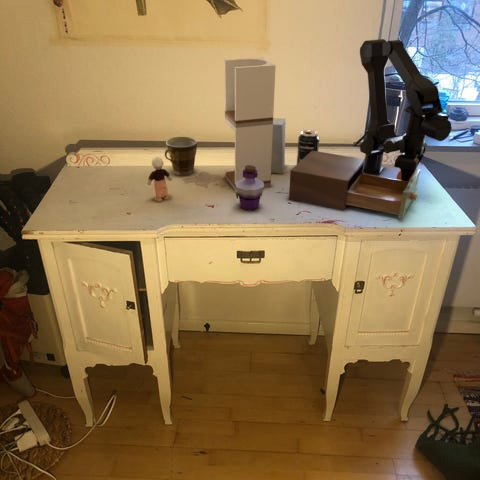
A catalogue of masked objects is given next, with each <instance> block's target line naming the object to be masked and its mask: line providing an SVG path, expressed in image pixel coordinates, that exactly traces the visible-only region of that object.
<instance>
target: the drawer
mask: <svg viewBox="0 0 480 480" xmlns="http://www.w3.org/2000/svg"><path fill="white" fill-rule="evenodd" d="M420 173H421V169H419V168H416V170H415V172H414V174H413V176H412V178H411V179H410V181H409V182H408V181H402V180H397V178H390V177H385V176H379V175H375V174H367V173H363V174H362V173H361V174H360V175H359V177H358V178H357V179H356V181H355V182H354V183H353V184H352V186H351V187H350V188H349V190H348V191H347V195H346V202H345V204H346V205H347V206H352V207H357V208H362V209H366V210H373V211H377V212H383V213H386V214H392V215H396V216H397V215H398V217H397V218H398V219H403V218H404V216H405V214H406V212H407V211H408V209H409V207H410V205H411V203H412V201H417V199H418V195H419V193H418V192H417V187H418V183H419V180H420V179H419V178H420Z"/></svg>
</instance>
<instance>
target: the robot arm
mask: <svg viewBox="0 0 480 480" xmlns="http://www.w3.org/2000/svg"><path fill="white" fill-rule="evenodd" d="M359 57H360V62H361V66H362V68H363V69H364V70H365V72H366V73H367V83H368V96H369V109H370V124H369V126H368V129H367V130H366V138H365V140H364V141H362V142H361V143H360V144H359V151H360V152H361V153H363V154H364V159H365V162H364V169H363V173H369V174H373V175H380V174H381V173H382V171H383V170H384V165H383V157H384V153H385V154H390V153H394V152H398V151H399V153H400V154H399V155H398V156H397V157H396V158H395V160H394V165H393V167H394V168H397V169H399V171H400V170H401V179H402V181H409V179H410V178H411V176H412V175H413V173H414V172H415V171H416V169H418V167H419V164H420V163H421V161H422V160H423V158H424V157H425V154H426V153H427V149H428V143H426V141H425V140H426V138H427V137H428V138H430V139H433V140H435V141H438V142H443V141H445V140H447V138H448V137H449V136H450V134H451V132H452V129H453V128H452V122H451V121H450V120H449V118H450V115H448V114H446V113H445V114H444V113H443V106H442V102H441V99H440V94H439V92H440V91H439V88H438V86H437V85H436V84H435V83H434V82H433V81H432V80H431V79H429V78H428V77H426V76H424V75H423V74H422V73H421V72H420V70H419V68H418V67H417V65H416V64H415V62H414V60H413V59H412V57H411V56H410V55H409V52H408V51H407V50H406V48H405V44H404V42H403V40H400V39H394V40H393V39H391V40H386V39H384V38H379V39H370V40H369V39H368V40H367V39H366V40H364V41H363V43H362V45H361V46H360V47H359ZM389 61H390V63H391V65H392V67H393V68H394V70H395V71H396V73H397V75H398V76H399V78H400V79H401V81H402V83H403V84H404V86H405V96H406V98H407V101H408V103H409V106H407V107H406V108H405V109H404V112H406V113H408V118H407V119H408V120H407V124H406V130H405V133H404V134H403V135H402V136H401V135H400V136H397V134H396V124H395V123H391V122H390V120H389V119H388V107H387V106H388V105H387V93H386V92H387V91H386V77H385V76H386V75H385V69H386V66H387V64H388V62H389ZM382 165H383V166H382Z"/></svg>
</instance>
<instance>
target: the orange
mask: <svg viewBox="0 0 480 480" xmlns="http://www.w3.org/2000/svg"><path fill="white" fill-rule="evenodd" d="M413 174H414V173H413ZM412 176H413V175H412ZM412 176H411V178H412ZM411 178H410V179H411ZM396 179H397V180H402V179H401V170H400V169H399V171H398V172H397V175H396ZM410 179H409V181H410ZM409 181H408V182H409Z"/></svg>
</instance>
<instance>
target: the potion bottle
mask: <svg viewBox="0 0 480 480" xmlns="http://www.w3.org/2000/svg"><path fill="white" fill-rule="evenodd" d="M243 177H244V178H245V179H242V180H239V181H237V182H236V191H235V197H236V199H237V200H239V204H240V205H239V207H240V209H241V210H244V211H247V212H249V211H252V212H254V211H256V210H258V209H259V206H260V201H261V197H263V192H264V188H265V187H264V182H262V181H260V180H257V179H255V178H256V177H257V170H256V167H255V166H252V165H247V166H245V170H243Z"/></svg>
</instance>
